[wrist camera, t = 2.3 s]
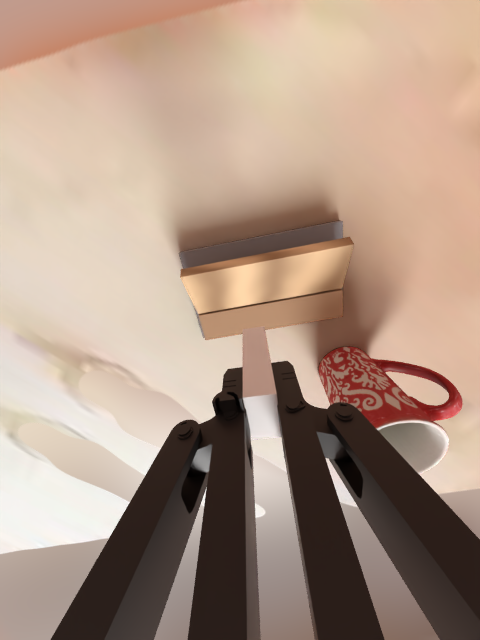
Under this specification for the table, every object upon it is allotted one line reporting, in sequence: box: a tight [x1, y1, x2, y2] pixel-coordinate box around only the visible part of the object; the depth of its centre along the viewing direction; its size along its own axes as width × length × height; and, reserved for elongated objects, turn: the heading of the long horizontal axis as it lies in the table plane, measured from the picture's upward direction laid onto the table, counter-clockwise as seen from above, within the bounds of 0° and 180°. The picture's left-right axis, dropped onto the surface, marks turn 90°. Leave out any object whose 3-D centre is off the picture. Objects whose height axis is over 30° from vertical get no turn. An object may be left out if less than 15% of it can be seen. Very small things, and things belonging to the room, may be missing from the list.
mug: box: [319, 347, 462, 475], centre depth 28 cm, size 13×9×14 cm
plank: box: [180, 237, 354, 314], centre depth 26 cm, size 17×6×1 cm, turn 101°
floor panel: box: [179, 221, 343, 340], centre depth 28 cm, size 18×11×2 cm, turn 101°
